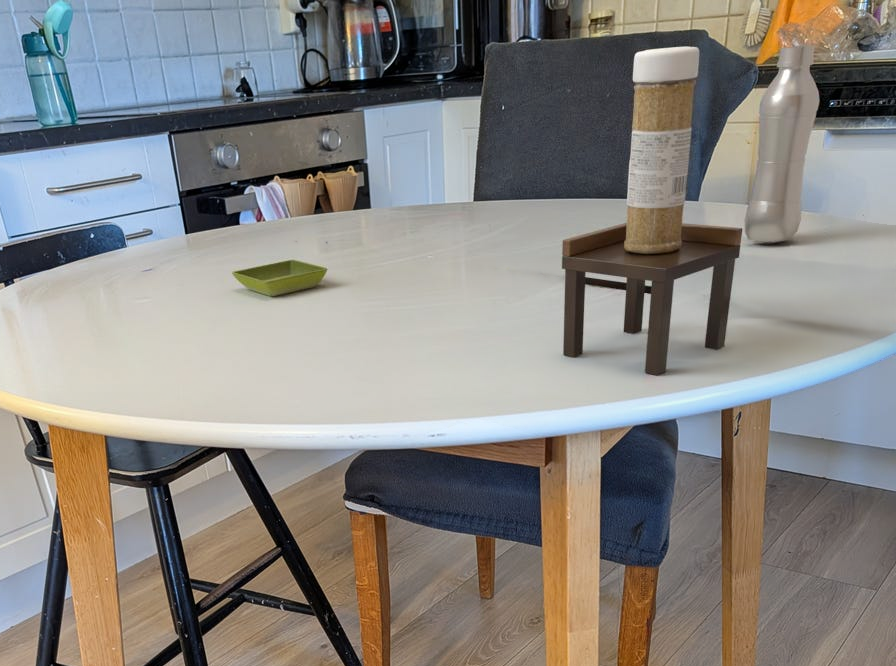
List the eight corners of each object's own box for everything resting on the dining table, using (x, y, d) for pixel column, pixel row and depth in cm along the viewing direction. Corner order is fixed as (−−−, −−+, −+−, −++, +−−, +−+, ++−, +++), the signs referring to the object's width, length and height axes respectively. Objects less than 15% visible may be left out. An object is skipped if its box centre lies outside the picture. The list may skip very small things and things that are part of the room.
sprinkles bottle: (651, 242, 72) (665, 47, 65) (693, 248, 69) (714, 44, 62) (610, 251, 71) (620, 51, 63) (652, 258, 67) (668, 48, 60)
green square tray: (331, 286, 104) (329, 267, 103) (267, 300, 100) (264, 281, 99) (295, 276, 110) (292, 259, 109) (233, 290, 106) (230, 272, 105)
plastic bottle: (799, 237, 108) (830, 43, 97) (794, 248, 103) (827, 44, 92) (745, 237, 111) (769, 47, 100) (737, 247, 106) (762, 49, 95)
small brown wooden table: (728, 346, 74) (743, 228, 69) (657, 376, 69) (668, 251, 63) (630, 328, 80) (637, 219, 75) (559, 355, 75) (562, 239, 70)
